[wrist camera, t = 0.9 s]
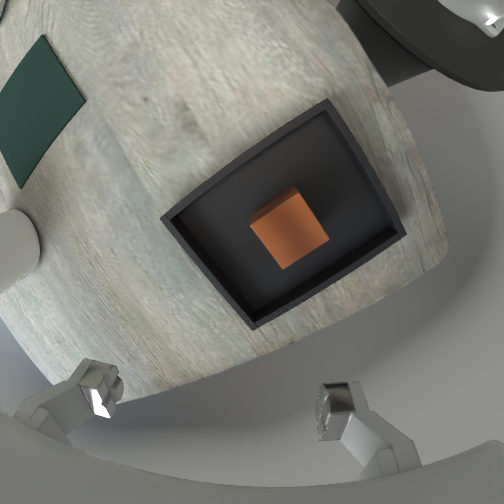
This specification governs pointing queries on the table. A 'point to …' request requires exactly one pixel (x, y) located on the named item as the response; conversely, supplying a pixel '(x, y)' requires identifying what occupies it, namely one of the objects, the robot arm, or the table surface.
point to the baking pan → (268, 187)
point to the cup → (16, 248)
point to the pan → (2, 6)
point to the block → (288, 227)
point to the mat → (35, 109)
